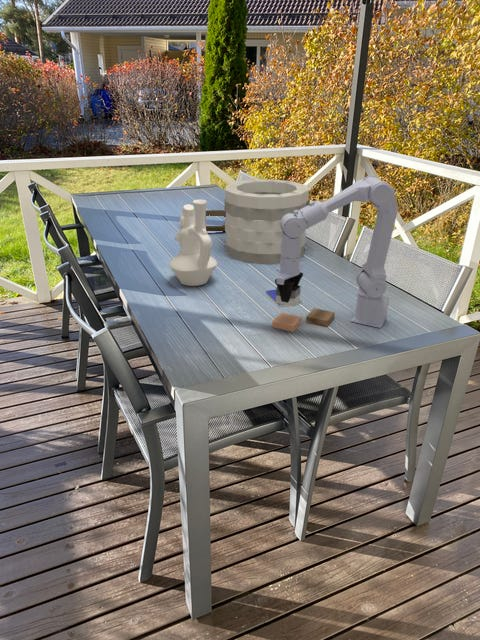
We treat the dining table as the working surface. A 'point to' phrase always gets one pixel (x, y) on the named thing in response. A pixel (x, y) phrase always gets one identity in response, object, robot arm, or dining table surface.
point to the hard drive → (273, 296)
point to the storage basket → (260, 218)
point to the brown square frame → (215, 213)
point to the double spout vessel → (193, 246)
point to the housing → (293, 296)
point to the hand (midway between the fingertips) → (288, 298)
